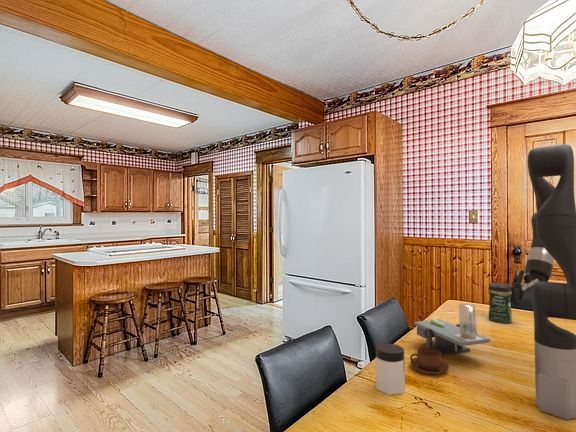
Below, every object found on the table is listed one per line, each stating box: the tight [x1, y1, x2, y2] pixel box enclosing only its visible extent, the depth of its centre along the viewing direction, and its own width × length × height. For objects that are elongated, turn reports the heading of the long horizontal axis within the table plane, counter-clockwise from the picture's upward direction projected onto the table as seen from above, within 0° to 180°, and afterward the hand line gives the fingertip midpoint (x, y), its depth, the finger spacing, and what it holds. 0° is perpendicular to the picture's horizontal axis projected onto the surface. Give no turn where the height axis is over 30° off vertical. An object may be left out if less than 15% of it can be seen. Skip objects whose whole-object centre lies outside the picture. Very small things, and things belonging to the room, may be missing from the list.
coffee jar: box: [487, 282, 513, 324], centre depth 166 cm, size 10×8×19 cm
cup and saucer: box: [409, 347, 450, 375], centre depth 115 cm, size 12×12×6 cm
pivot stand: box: [419, 323, 471, 357], centre depth 131 cm, size 8×16×9 cm, turn 106°
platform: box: [414, 318, 491, 347], centre depth 129 cm, size 25×12×7 cm, turn 16°
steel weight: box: [458, 303, 478, 339], centre depth 120 cm, size 5×5×11 cm
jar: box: [374, 342, 406, 396], centre depth 102 cm, size 9×8×12 cm
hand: (529, 306), depth 115 cm, fingers open, 8 cm apart
